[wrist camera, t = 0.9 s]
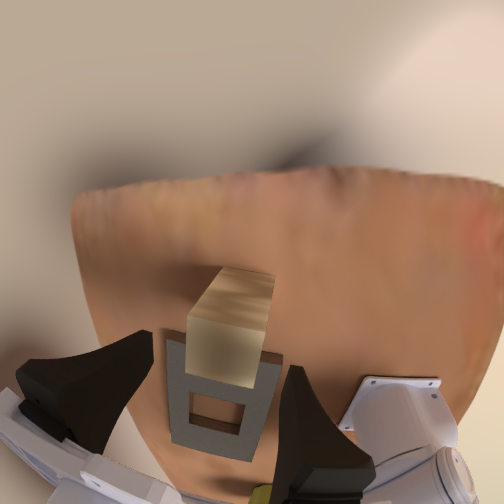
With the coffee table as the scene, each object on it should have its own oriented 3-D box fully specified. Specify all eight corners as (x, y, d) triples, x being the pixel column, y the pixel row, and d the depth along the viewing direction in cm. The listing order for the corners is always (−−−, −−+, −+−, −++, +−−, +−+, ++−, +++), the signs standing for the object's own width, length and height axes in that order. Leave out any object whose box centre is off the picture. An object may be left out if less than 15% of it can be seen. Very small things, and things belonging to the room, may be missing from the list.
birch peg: (275, 276, 21) (265, 332, 13) (266, 321, 22) (253, 388, 14) (223, 266, 21) (187, 314, 13) (218, 311, 22) (185, 372, 14)
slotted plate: (283, 354, 22) (282, 365, 21) (252, 453, 27) (251, 462, 26) (172, 330, 23) (166, 338, 22) (175, 434, 28) (171, 442, 27)
